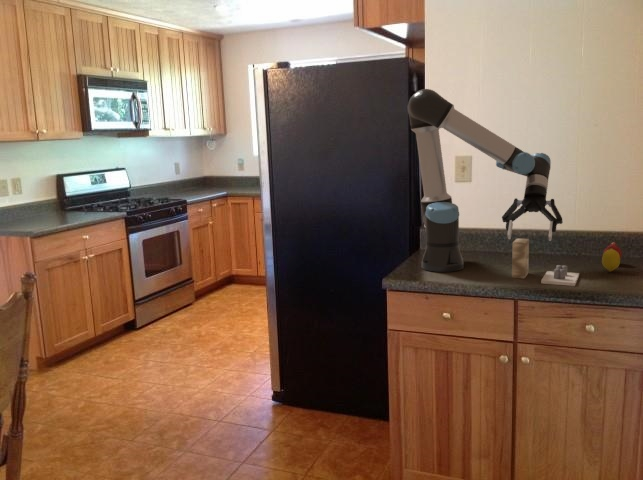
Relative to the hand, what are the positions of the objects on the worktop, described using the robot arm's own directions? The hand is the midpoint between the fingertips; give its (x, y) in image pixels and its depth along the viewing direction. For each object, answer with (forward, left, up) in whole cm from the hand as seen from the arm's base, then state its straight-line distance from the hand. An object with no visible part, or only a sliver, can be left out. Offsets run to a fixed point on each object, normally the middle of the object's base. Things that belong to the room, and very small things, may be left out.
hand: (529, 238), depth 205 cm
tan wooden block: (-1, -8, -12) cm, 14 cm away
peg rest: (+12, -10, -12) cm, 19 cm away
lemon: (+26, +7, -12) cm, 29 cm away
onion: (+26, +19, -12) cm, 34 cm away
